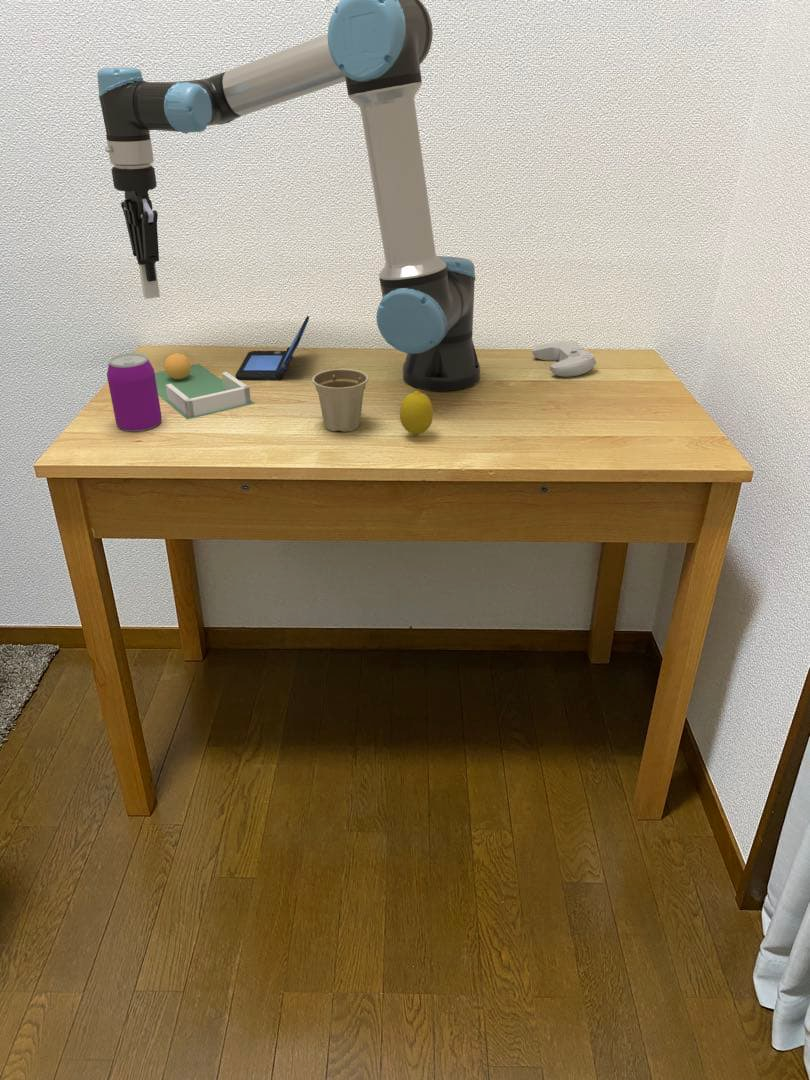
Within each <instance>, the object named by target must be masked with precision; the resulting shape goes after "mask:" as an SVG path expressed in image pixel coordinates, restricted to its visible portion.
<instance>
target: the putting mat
mask: <svg viewBox="0 0 810 1080" xmlns="http://www.w3.org/2000/svg"><path fill="white" fill-rule="evenodd" d="M155 379H156V385H157V391H158V397H160V398H161V399H163V400H164V402H166V403H167V404H168V405H170V407H172V408H173V409H174V410H175V411H176V412H178V413H179V414H180V415H181V416H183V417H184V418H185V419H186V420H191V419H196V418H200V417H203V416H208V415H209V416H210V415H212V414H216V413H221V412H225V411H230V410H234V409H239V408H241V407H246V406H251V405H255V402H254V401H252V400H251V403H249V404H245V405H241V406H236V407H232V408H228V409H224V410H219V411H215V412H211V413H207V414H203V415H198V416H194V417H190V418H189V417H187V416H186V415H185V414H184V413H183V412H181V411H180V410H179V409H178V408H177V407H175V406H174V405H173V404H172V403H171V402H170V401H168V397H167V390H166V385H167V384H172V385H173V386H174V387H176V388H177V389H178V390H179V391H181V392H182V393H183V394H184V395H186V396H187V397H188V398H189V399H191V398H195V397H200V396H204V395H209V394H213V393H218V392H222V391H226V389H224V388H223V381H222V379H221V378H220V377H218V376H217V375H216V374H214V373H213V372H211V371H210V370H209V369H207V368H205V366H202V364H199V363H197V364H191V371H190V373H189V375H188V376H187V377H186V378H184V379H180V380H177V379H173V378H171V377H170V376H169V375H168V374H167V373H166V371H165V370H163V371H158V372H155Z"/></svg>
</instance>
